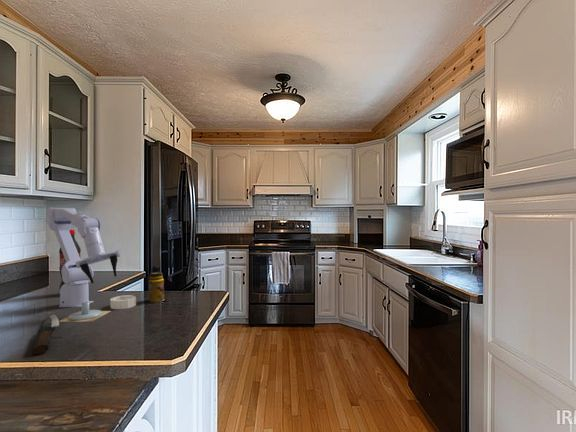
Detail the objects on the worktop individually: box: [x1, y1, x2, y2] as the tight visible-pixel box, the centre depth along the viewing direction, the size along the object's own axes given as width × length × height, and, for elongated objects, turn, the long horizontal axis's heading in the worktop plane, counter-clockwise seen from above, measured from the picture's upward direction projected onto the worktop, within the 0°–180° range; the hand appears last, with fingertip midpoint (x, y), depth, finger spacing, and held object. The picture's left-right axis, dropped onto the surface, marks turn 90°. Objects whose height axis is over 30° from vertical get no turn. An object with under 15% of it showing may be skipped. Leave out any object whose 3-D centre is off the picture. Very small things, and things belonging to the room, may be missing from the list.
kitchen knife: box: [32, 314, 60, 355], centre depth 103 cm, size 36×2×5 cm
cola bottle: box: [58, 229, 82, 290], centre depth 155 cm, size 8×8×30 cm
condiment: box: [148, 271, 165, 303], centre depth 140 cm, size 7×8×12 cm
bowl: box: [109, 294, 137, 310], centre depth 132 cm, size 9×9×4 cm
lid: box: [69, 302, 103, 320], centre depth 119 cm, size 10×10×5 cm
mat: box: [59, 310, 112, 323], centre depth 119 cm, size 12×12×1 cm
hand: (104, 279), depth 123 cm, fingers open, 7 cm apart
